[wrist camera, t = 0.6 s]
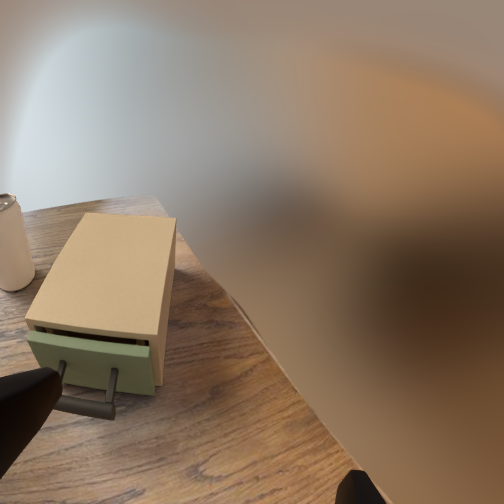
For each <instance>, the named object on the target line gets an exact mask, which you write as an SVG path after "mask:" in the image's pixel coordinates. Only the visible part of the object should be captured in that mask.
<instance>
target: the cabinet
mask: <svg viewBox="0 0 504 504" xmlns="http://www.w3.org/2000/svg"><path fill="white" fill-rule="evenodd" d="M175 243H176V218H164V217H150V216H134V215H118V214H100V213H86V214H85V215H84V217H83V218H82V220H81V221H80V223H79V224H78V226H77V227H76V229H75V230H74V232H73V233H72V235H71V237H70V238H69V240H68V241H67V243H66V244H65V246H64V248H63V249H62V251H61V253H60V254H59V256H58V258H57V259H56V261H55V263H54V264H53V266H52V268H51V269H50V271H49V273H48V275H47V276H46V278H45V280H44V282H43V284H42V286H41V287H40V289H39V291H38V293H37V295H36V297H35V299H34V300H33V302H32V304H31V306H30V308H29V310H28V312H27V314H26V316H25V320H26V322H27V325H28V327H29V329H30V331H31V330H32V331H37V332H43V333H46V330H45V328H44V327H47V328H53V329H60V330H66V331H73V332H80V333H88V334H95V335H103V336H112V337H121V338H130V339H141V340H149V347H150V350H151V358H152V366H153V373H154V381H155V386H162V383H163V370H164V359H165V348H166V338H167V328H168V319H169V310H170V301H171V293H172V285H173V278H174V270H175Z"/></svg>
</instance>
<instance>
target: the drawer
mask: <svg viewBox="0 0 504 504" xmlns="http://www.w3.org/2000/svg"><path fill="white" fill-rule="evenodd" d="M44 328H45V330H46V333H43V332H37V331H32V330H31V331H30V334H29V336H28V338H27V341H28V343H29V345H30V347H31V350H32V352H33V354H34V355H35V357H36V359H37V361H38V363H39V365H40V367H41V368H43V367H51V368H53V369H55V370H56V371H58V372H59V374H60V378H61V384H62V383H66V384H72V385H77V386H83V387H89V388H95V389H102V390H107V394H106V399H105V402H98V401H92V400H86V399H80V398H75V397H70V396H65V395H61V397H60V399H59V400H58V402H57V404H56V405H55V407H54V408H53V409H54V410H58V411H63V412H67V413H72V414H77V415H83V416H88V417H94V418H100V419H106V420H114V419H115V414H116V409H115V405H114V404H113V403H114V397H115V391H117V392H125V393H133V394H143V395H153V396H154V395H155V381H154V373H153V366H152V358H151V350H150V347H149V340H141V339H130V338H121V337H112V336H103V335H95V334H88V333H80V332H73V331H66V330H60V329H53V328H47V327H44Z"/></svg>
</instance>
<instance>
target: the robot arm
mask: <svg viewBox="0 0 504 504" xmlns="http://www.w3.org/2000/svg"><path fill="white" fill-rule="evenodd" d="M61 395H62V384H61V378H60V374H59V372H58V371H56V370H55V369H53V368H51V367H43V368H39V369H35V370H30V371H26V372H22V373H18V374H13V375H9V376H4V377H0V479H1V478H2V477H3V475H4V474H5V473H6V471H7V470H8V469H9V468H10V466H11V465H12V464H13V462H14V461H15V460H16V459H17V457H18V456H19V455H20V454H21V452H22V451H23V450H24V449H25V447H26V446H27V445H28V444H29V442H30V441H31V440H32V439H33V437H34V436H35V435H36V434H37V432H38V431H39V430H40V428H41V427H42V425H43V424H44V422H45V421H46V419H47V418H48V416H49V414H50V413H51V411H52V410H53V408H54V407H55V405H56V404H57V402H58V400H59V399H60V397H61ZM335 504H386V502H385V501H384V499H383V498H382V496H381V495H380V493H379V492H378V490H377V489H376V487H375V486H374V484H373V483H372V481H371V480H370V478H369V476H368V475H367V473H366V472H365V471H361V470H351V471H349V473H348V474H347V475H346V476H345V478H344V479H343V480H342V482H341V483H340V484H339V486H338V489H337V494H336V500H335Z"/></svg>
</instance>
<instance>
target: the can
mask: <svg viewBox="0 0 504 504" xmlns="http://www.w3.org/2000/svg"><path fill="white" fill-rule="evenodd" d="M34 275H35V269H34V265H33V261H32V257H31V253H30V249H29V245H28V240H27V236H26V231H25V227H24V222H23V217H22V212H21V208H20V205H19V204H18V203H17V201H16V196H15V195H13V194H0V288H2V289H3V290H5V291H9V292H14V291H19V290H21V289H23V288H25V287H26V286H28V285H29V284H30V283H31V281H32V280H33V278H34Z"/></svg>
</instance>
